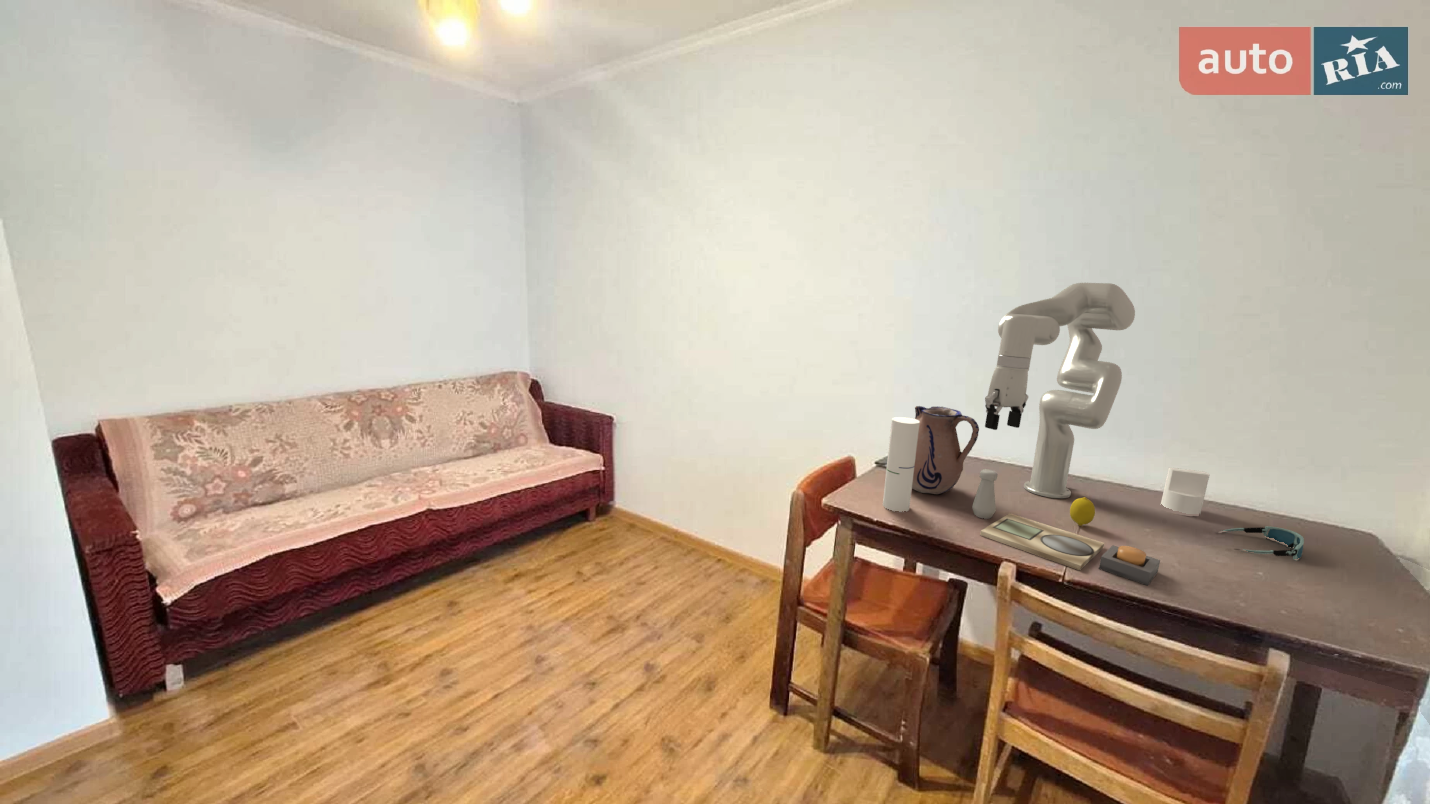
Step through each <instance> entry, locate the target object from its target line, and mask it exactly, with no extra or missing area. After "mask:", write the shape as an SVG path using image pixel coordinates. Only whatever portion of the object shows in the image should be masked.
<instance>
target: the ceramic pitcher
mask: <svg viewBox="0 0 1430 804" xmlns="http://www.w3.org/2000/svg"><path fill="white" fill-rule="evenodd" d="M914 409H915V411H914V412H915V415H914V416H915V417H914V419H916V420H918V421H920V423H919V432H918V440H917V449H916V457H915V465H914V474H913V482H912V489H913V491H916V492H918V493H922V494H932V495H933V494H934V495H939V494H943V493H946V492H948V491H950V490H952V489H953V488H954V487H955V485H957V483H958V481H959V479H960V477H961V476H962V472H963V470H964V462H965V460H966V458H967V457H968V455H969V454H970V452H971V451H972V449H973V447H974V446H975V444H976V443H977V440H978V437H979V431H980V428H979V427H980V426H979V424H978V422H977V421H976V420H975V418H973V417H970V416H968V415H963V414H962V412H961V411H960V410H957V409H954V408H949V407H944V406H931V407H929V408H928V407H925V406H920V405H916V406H915V407H914ZM961 422H966V423H969V424H970V426H971V428H972V429H971V430H972V432H971V436H970V439H969V441H968V442H967V444H966V445H965V447H964V448H963V450H962V451H961V446H960V442H959V436H958V432H957V426H958V424H960V423H961Z"/></svg>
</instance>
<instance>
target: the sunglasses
mask: <svg viewBox="0 0 1430 804" xmlns="http://www.w3.org/2000/svg"><path fill="white" fill-rule="evenodd" d="M1223 531H1230V532H1231V531H1232V532H1245V534H1246V533H1247V534H1263V537H1264V536H1266V537H1269V538H1274V539H1275V540H1277V541H1279V542H1284V543H1285V544H1287V545H1288V547H1291V548H1292V549H1279V550H1274V549H1271V550H1256V549H1255V550H1253V549H1252V550H1251V549H1243V548H1242V549H1243V550H1246V551H1248V552H1254V553H1253V554H1260V555H1261V554H1263V555H1265V554H1266V555H1267V554H1269V555H1270V554H1272V555H1274V556H1275V557H1292V560H1294V559H1298V558H1300V557H1301V558H1302V556H1303V552H1304V544H1305V539H1304V536H1302V535H1301V534H1300V533H1298V532H1296V531H1294V530H1291V529H1286V528H1283V527H1278V526H1271V525H1270V526H1268V525H1267V526H1264V527H1261V526H1260V527H1259V526H1258V527H1236V528H1235V527H1234V528H1229V529H1224V530H1223ZM1230 532H1229V533H1230ZM1288 547H1287V548H1288ZM1293 547H1294V548H1293ZM1248 552H1247V553H1248ZM1301 558H1300V559H1301Z"/></svg>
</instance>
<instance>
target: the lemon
mask: <svg viewBox="0 0 1430 804" xmlns="http://www.w3.org/2000/svg"><path fill="white" fill-rule="evenodd" d="M1069 516H1070V518H1071V520H1072V521H1073V522H1074V523H1076V524H1077V525H1078V526H1079V527H1082V526H1084V525H1088V524H1090V523H1091V522H1092V521H1093V520H1094V518H1095V516H1096V508H1095V504H1094V503H1093V502H1092V501H1091V500H1090V499H1088V498H1087V497H1079V498H1076V499H1074V500H1073V502H1071V505H1070V508H1069Z"/></svg>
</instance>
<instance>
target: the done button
mask: <svg viewBox="0 0 1430 804" xmlns="http://www.w3.org/2000/svg"><path fill="white" fill-rule="evenodd" d="M1118 547H1119V548H1118V553H1117V559H1119V560H1122V561H1125V562H1128V563H1131V564H1134V565H1137V566H1140V567H1143V566H1144V563H1145V558H1146V556H1147V553H1146V552H1145V551H1144V550H1142V549H1139V548H1136V547H1134V546H1129V545H1120V546H1118Z"/></svg>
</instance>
